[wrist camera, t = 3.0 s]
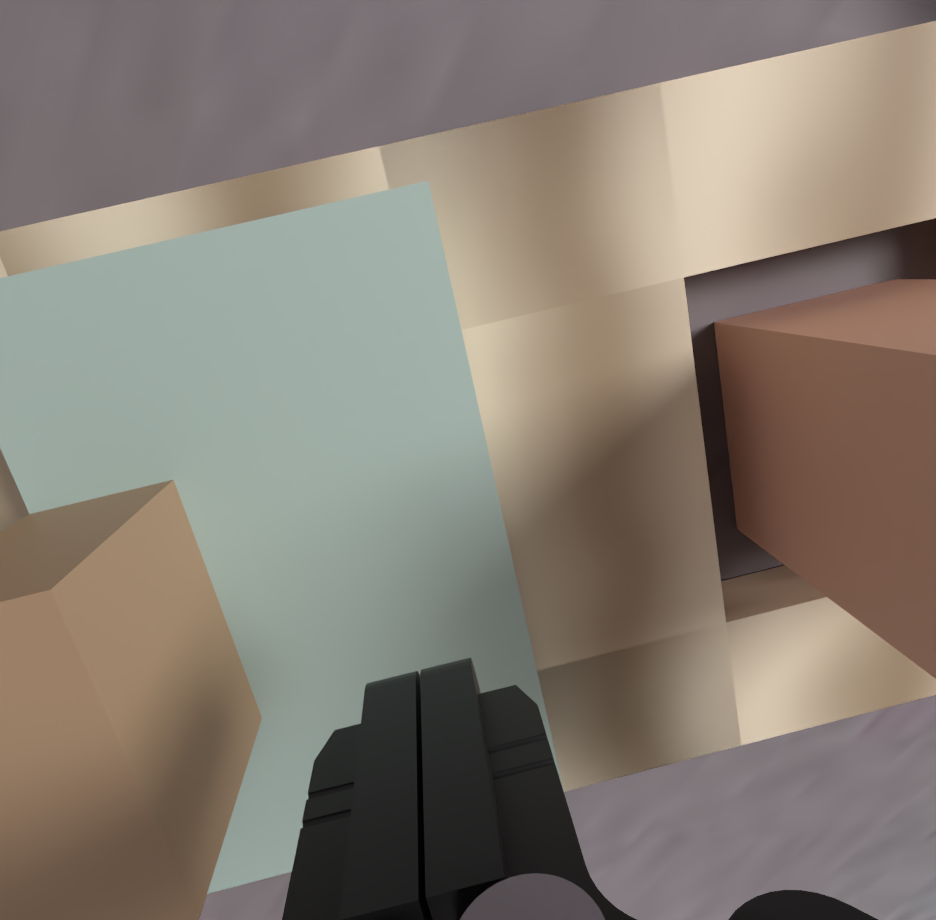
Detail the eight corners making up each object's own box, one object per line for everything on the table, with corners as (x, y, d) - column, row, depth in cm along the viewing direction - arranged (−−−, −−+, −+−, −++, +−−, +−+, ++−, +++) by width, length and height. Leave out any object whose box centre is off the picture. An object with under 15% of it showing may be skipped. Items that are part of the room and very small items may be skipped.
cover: (210, 861, 17) (117, 1149, 12) (-35, 292, 13) (-371, 304, 7) (556, 771, 18) (631, 1008, 12) (426, 187, 14) (445, 122, 8)
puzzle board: (-5, 885, 20) (-48, 951, 18) (-321, 321, 15) (-427, 327, 13) (990, 628, 21) (1050, 664, 19) (996, 23, 16) (1077, -12, 14)
